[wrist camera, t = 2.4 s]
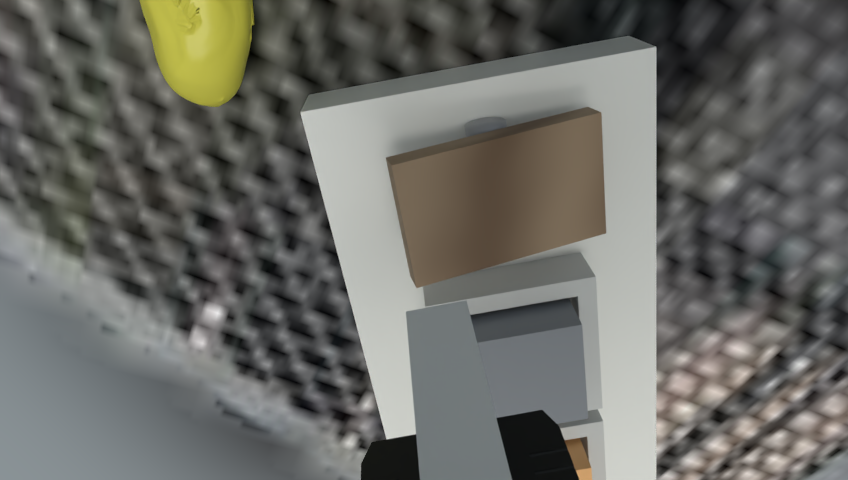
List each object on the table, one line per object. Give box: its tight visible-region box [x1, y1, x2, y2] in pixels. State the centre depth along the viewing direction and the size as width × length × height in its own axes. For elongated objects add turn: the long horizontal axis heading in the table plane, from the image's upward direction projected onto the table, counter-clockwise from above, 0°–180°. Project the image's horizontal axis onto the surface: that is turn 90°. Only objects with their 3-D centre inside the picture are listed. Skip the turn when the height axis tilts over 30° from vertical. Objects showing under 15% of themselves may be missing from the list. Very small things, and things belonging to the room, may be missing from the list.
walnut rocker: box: [386, 107, 606, 288], centre depth 23 cm, size 8×5×1 cm, turn 100°
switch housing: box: [300, 36, 656, 480], centre depth 30 cm, size 14×24×5 cm, turn 10°
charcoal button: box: [470, 298, 588, 424], centre depth 27 cm, size 5×5×2 cm
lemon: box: [140, 0, 254, 107], centre depth 23 cm, size 4×8×4 cm, turn 177°
